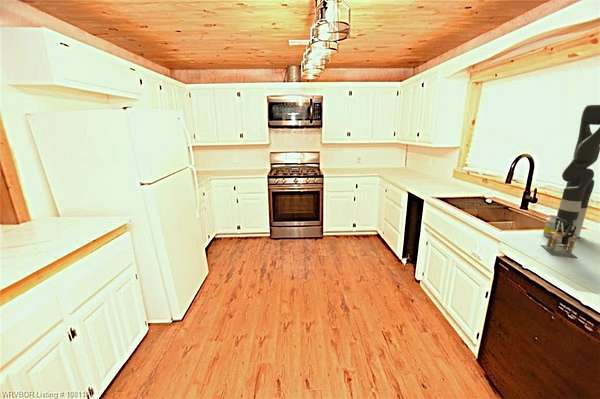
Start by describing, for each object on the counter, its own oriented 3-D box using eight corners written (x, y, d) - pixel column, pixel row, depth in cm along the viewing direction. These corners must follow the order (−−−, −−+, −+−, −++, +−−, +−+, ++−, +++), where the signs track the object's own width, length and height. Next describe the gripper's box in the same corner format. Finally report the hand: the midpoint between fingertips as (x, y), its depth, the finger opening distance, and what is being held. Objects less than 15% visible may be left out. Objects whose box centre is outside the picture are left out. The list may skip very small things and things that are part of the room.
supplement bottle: (550, 233, 168) (555, 212, 165) (561, 238, 162) (566, 216, 159) (539, 233, 168) (544, 212, 165) (549, 238, 162) (554, 216, 159)
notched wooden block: (546, 246, 148) (550, 231, 146) (565, 248, 146) (569, 233, 144) (551, 250, 143) (555, 235, 141) (571, 252, 141) (575, 237, 139)
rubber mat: (540, 245, 152) (541, 244, 152) (564, 248, 149) (564, 247, 149) (551, 255, 141) (552, 254, 141) (577, 258, 138) (577, 257, 138)
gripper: (587, 214, 132) (578, 248, 136) (570, 205, 145) (562, 237, 149) (567, 212, 134) (558, 246, 138) (552, 204, 147) (545, 235, 151)
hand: (560, 241), depth 144 cm, fingers closed on notched wooden block, 5 cm apart
